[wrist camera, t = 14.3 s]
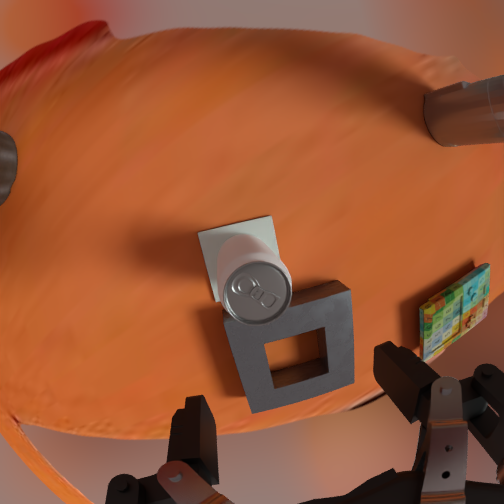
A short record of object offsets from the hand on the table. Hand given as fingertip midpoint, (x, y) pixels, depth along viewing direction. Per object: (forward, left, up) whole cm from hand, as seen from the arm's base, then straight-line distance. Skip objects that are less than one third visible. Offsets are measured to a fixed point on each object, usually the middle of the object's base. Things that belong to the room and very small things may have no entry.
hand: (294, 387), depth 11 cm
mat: (0, 0, -24) cm, 24 cm away
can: (0, 0, -24) cm, 24 cm away
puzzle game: (+19, +36, -24) cm, 47 cm away
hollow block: (+14, +4, -24) cm, 28 cm away
